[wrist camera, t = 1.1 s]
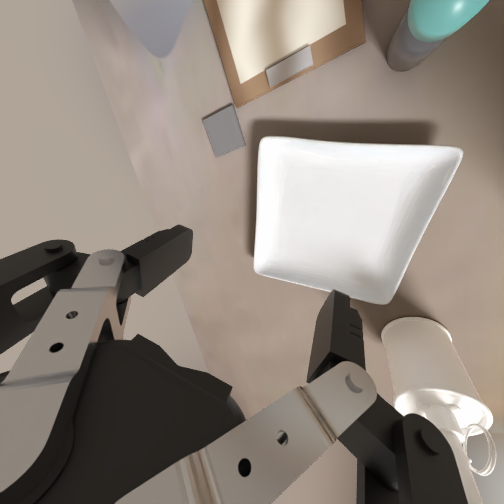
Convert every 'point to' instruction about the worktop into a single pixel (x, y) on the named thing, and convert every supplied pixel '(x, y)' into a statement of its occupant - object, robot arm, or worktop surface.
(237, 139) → the coaster
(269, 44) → the clipboard
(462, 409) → the white nozzle bottle
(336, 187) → the salad plate
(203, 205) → the worktop surface
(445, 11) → the marker
